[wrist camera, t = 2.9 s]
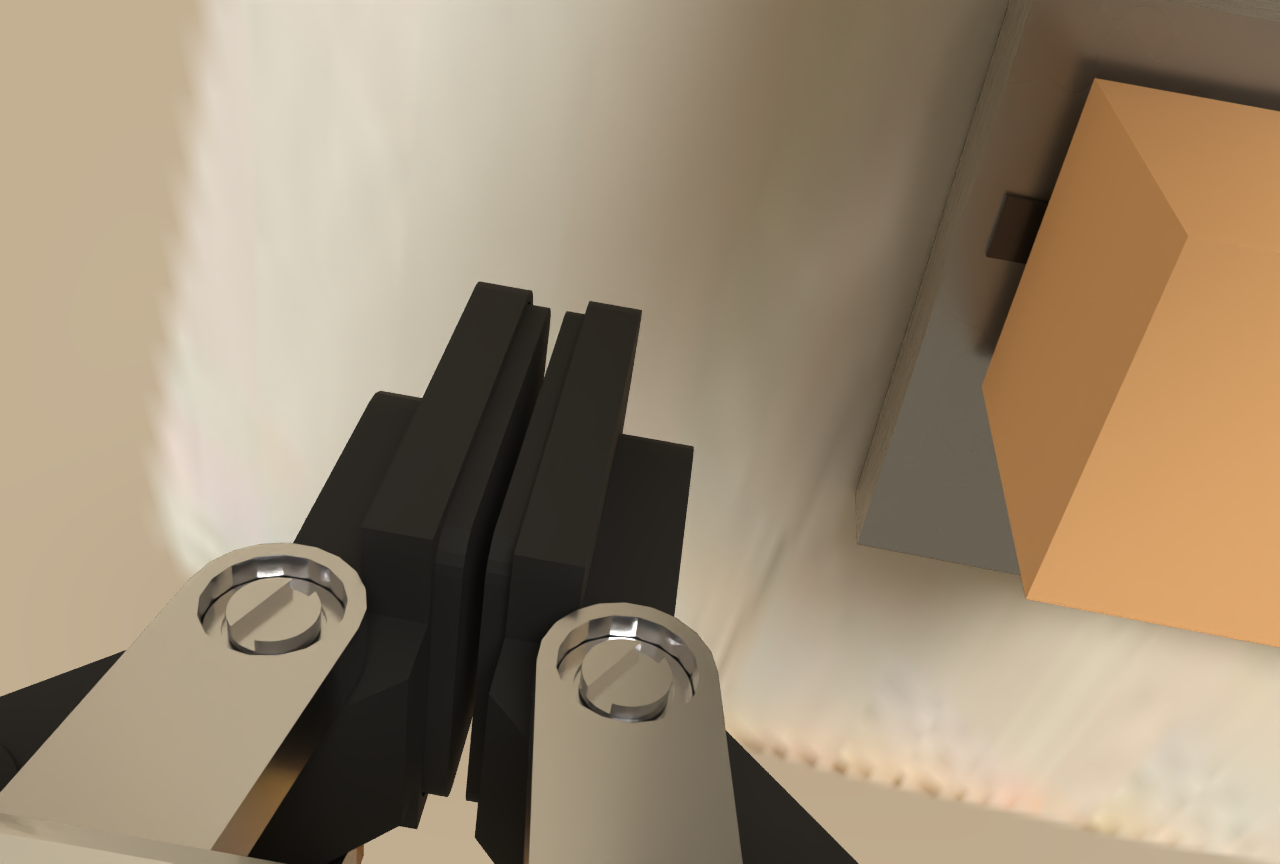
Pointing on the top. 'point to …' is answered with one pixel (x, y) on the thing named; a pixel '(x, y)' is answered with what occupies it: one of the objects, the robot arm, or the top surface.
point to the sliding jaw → (1150, 370)
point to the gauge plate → (1024, 244)
